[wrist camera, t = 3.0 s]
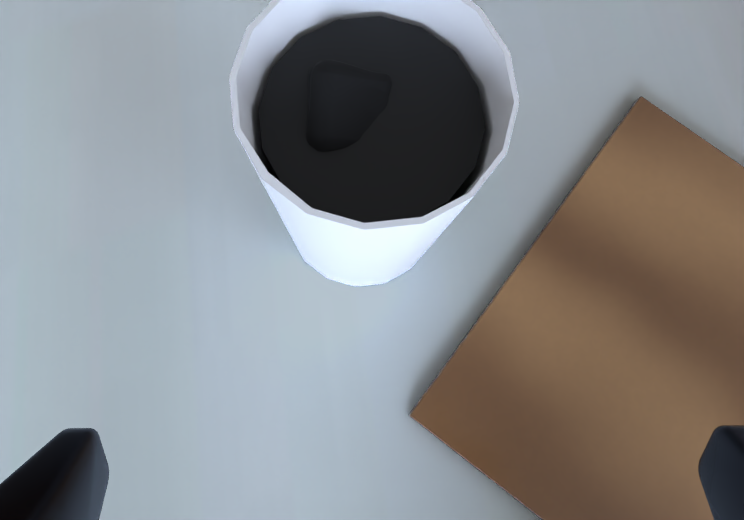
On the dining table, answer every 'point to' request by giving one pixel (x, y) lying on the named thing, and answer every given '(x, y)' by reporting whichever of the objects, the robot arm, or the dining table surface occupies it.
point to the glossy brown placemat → (611, 338)
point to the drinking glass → (372, 124)
